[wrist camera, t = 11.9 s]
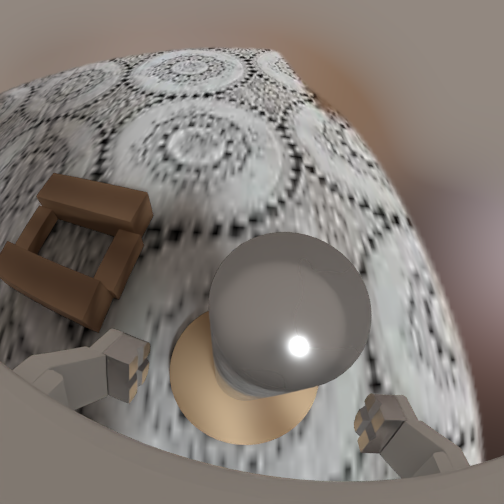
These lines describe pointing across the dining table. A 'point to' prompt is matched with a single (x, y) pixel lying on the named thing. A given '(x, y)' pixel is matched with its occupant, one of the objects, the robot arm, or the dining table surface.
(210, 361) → the cork pad
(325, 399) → the dining table surface
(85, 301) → the cradle
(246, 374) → the grey rounded cylinder
